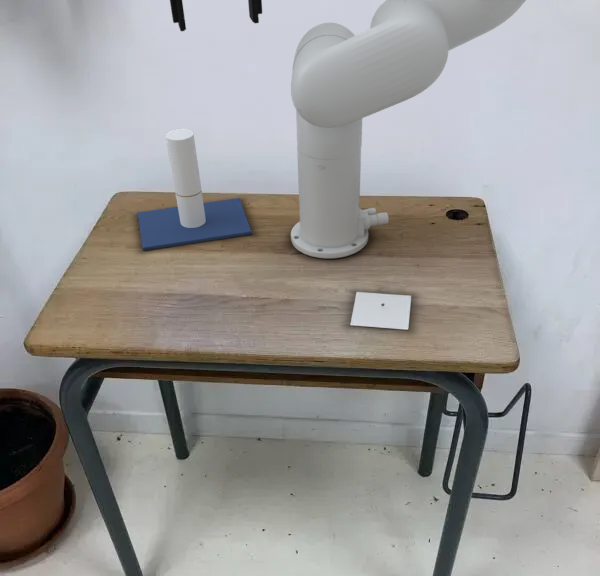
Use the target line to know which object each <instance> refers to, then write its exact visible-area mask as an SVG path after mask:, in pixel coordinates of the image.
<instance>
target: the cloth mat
mask: <svg viewBox="0 0 600 576" xmlns="http://www.w3.org/2000/svg"><path fill="white" fill-rule="evenodd" d="M203 204H204V211H205V218H206V222H205V223H204V224H203V225H202V226H199V227H196V228H187V227H184V226H182V225H181V223H180V217H179V211H178V206H173V207H166V208H160V209H152V210H146V211H145V210H144V211H139V212H137V219H138V225H139V233H140V240H141V248H142V251H150V250H159V249H164V248H170V247H171V248H172V247H177V246H183V245H190V244H197V243H204V242H210V241H217V240H224V239H229V238H237V237H243V236H251V235H252V234H253V232H252V228H251V226H250V223H249V221H248V217H247V215H246V211H245V209H244V207H243V204H242V201H241V198H240V197H235V198H230V199H228V198H227V199H222V200H216V201H209V202H208V201H207V202H203Z"/></svg>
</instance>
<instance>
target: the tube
mask: <svg viewBox="0 0 600 576" xmlns="http://www.w3.org/2000/svg"><path fill="white" fill-rule="evenodd" d="M165 139H166V146H167V152H168V159H169V164H170V169H171V170H170V171H171V175H172V182H173V188H174V193H175V199H176V204H177V207H178V211H179V217H180V223H181V225H182V226H184V227H187V228H196V227H199V226H202V225H203V224H204V223H205V222H206V218H205V211H204V204H203V203H204V198H203V191H202V184H201V177H200V169H199V162H198V156H197V148H196V141H195V135H194V131H193V130H191V129H189V128H176V129H171V130H170V131H167V132H166V133H165Z"/></svg>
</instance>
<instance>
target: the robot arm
mask: <svg viewBox="0 0 600 576" xmlns="http://www.w3.org/2000/svg"><path fill="white" fill-rule="evenodd" d="M526 1H527V0H385V1H383V3H381V4H380V5H379V6H378V7H377V9H376V10H375V12H374V13H373V16H372V18H371V22H370V27H369V29H367V30H365V31H363V32H360V33H358V34H356V35H355V33H353V32H352V31H351V30H350V29H349V28H347V27H346V26H344V25H342V24H340V23H336V22H323V23H320V24H317V25H315V26H313V27H312V28H310V29H309V30H308V31H307V32H306V33H305V34H303V36H302V37H301V39H300V41H299V43H298V45H297V47H296V50H295V53H294V56H293V57H294V58H293V62H292V63H293V64H292V71H291V72H292V73H291V82H290V96H291V100H292V105H293V106H294V108H295V115H296V116H295V117H296V118H295V121H296V155H297V159H296V160H297V180H298V181H297V182H298V183H297V184H298V186H297V187H298V208H299V209H298V211H299V221H297V223H295V224H294V225H293V227H292V228H291V231H290V242H291V244H292V246H293V247H294V248H295V249H296V250H297V251H299V252H300V253H302V254H303V255H306V256H309V257H312V258H317V259H339V258H344V257H348V256H352V255H354V254H356V253H358V252H359V251H361V250H362V249H363V248H364V247H365V246H366V245H367V244H368V242H369V229H370V228H371V227H374V226H375V227H376V226H379V227H380V226H385V225H388V224H389V220H390V219H389V214H388V212H386V211H385V212H378V213H377V209H376V207H369V208H366V209H362V208H361V207H360V206H361V205H360V202H361V201H360V200H361V198H360V197H361V196H360V195H361V170H362V169H361V166H362V145H363V144H362V142H363V119H364V118H366V117H369V116H371V115H373V114H376V113H378V112H381V111H383V110H386V109H388V108H391V107H394V106H395V105H398V104H401V103H404V102H405V101H408V100H410V99H412V98H414V97H417V96H418V95H420V94H422V93H423V92H425V90H427V89H428V88H430V87H431V86H432V85H433V84H434V83H435V82H436V81H437V80H438V79H439V77H440V76H441V74H442V72H443V71H444V69H445V67H446V65H447V61H448V57H449V51H451V50H454V49H456V48H457V47H458V48H459V46H462V45H465V44H466V43H468V42H470V41H472V40H474V39H476V38H479V37H481V36H482V35H483V36H484V35H485V34H487V33H489V32H491V31H493V30H494V29H496V28H497V27H499V26H500V25H502V24H504V23H505V22H506V21H508V20H509V19H510V18H511V17H512V16H514V14H515V13H517V11H518V10H519V9H520V8H521V7H522V6H523V4H524V3H525V2H526ZM247 2H248V15H249V19H250V20H251V22H252V23H254V24H259V23H260V19H259V15H263V1H262V0H247ZM169 3H170V10H171V11H170V12H171V17H172V22H173V24H178V28H179V31H180V32H185V31H186V30H187V26H186V19H185V11H184V3H183V0H169Z"/></svg>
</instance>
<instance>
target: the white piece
mask: <svg viewBox="0 0 600 576" xmlns="http://www.w3.org/2000/svg"><path fill="white" fill-rule="evenodd" d="M411 302H412V295H407V294H406V295H405V294H404V295H402V294H391V293H377V292H364V291H363V292H362V291H356V294H355V298H354V303H353V309H352V313H351V320H350V326H356V327H369V328H380V329H381V328H382V329H393V330H394V329H395V330H407V331H408V330H409V325H410V314H411V304H412V303H411Z"/></svg>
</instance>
